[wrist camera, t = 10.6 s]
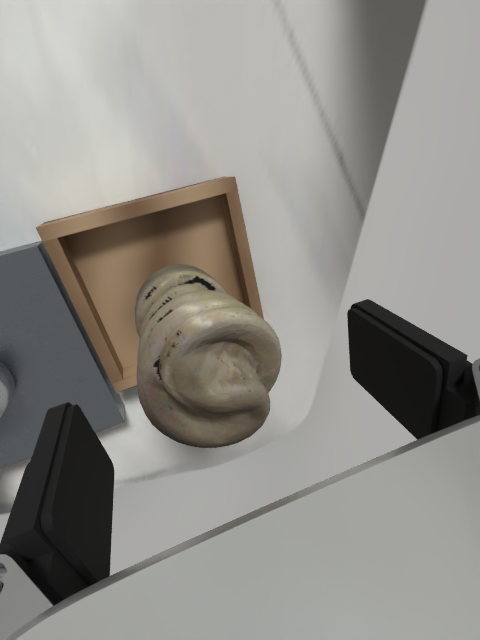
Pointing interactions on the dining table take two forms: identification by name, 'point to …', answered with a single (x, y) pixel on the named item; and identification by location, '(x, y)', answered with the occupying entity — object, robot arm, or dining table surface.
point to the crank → (5, 387)
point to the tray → (147, 260)
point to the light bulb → (202, 359)
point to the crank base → (45, 353)
